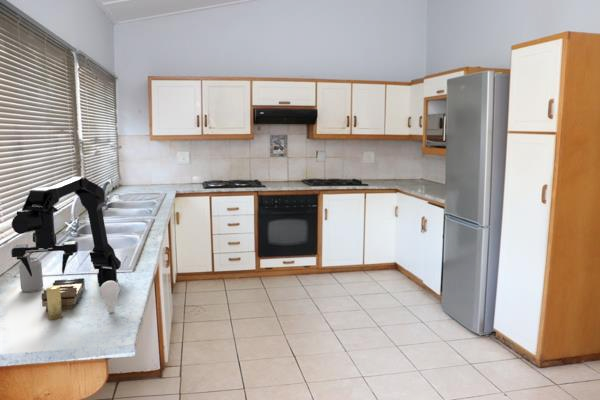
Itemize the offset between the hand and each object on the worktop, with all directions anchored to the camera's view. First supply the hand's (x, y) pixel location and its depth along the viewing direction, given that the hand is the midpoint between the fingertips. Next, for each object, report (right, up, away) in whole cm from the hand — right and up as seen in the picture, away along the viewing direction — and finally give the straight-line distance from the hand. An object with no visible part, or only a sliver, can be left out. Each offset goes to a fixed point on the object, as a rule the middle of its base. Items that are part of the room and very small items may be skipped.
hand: (47, 274), depth 162 cm
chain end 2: (-2, -11, +19) cm, 22 cm away
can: (-19, -10, +26) cm, 34 cm away
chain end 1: (-1, -12, +13) cm, 17 cm away
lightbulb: (+19, -13, +4) cm, 24 cm away
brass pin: (+3, -14, 0) cm, 14 cm away
